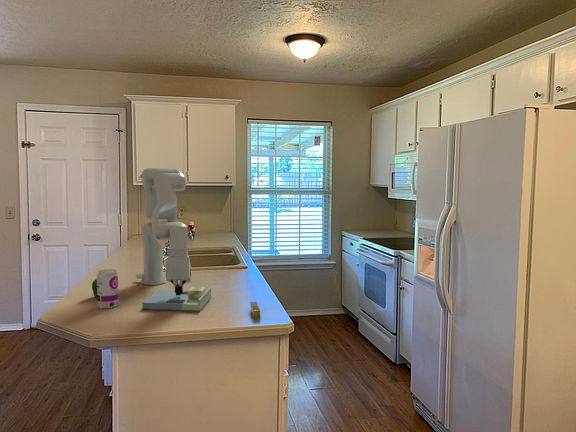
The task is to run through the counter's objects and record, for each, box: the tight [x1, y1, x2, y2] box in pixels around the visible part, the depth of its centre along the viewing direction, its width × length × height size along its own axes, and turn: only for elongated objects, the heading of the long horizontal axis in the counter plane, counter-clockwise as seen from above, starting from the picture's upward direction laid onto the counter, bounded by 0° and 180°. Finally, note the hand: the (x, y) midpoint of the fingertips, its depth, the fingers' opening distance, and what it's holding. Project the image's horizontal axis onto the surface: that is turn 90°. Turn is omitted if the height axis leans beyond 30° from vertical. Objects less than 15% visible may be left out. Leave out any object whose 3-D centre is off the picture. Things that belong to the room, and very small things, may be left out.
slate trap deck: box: [142, 287, 212, 313], centre depth 188 cm, size 24×20×5 cm
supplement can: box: [96, 268, 119, 309], centre depth 182 cm, size 8×8×15 cm
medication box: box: [250, 301, 261, 321], centre depth 175 cm, size 12×3×4 cm, turn 12°
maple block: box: [187, 286, 207, 300], centre depth 187 cm, size 6×6×4 cm
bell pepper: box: [91, 278, 97, 298], centre depth 196 cm, size 8×8×10 cm
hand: (178, 294), depth 188 cm, fingers closed
